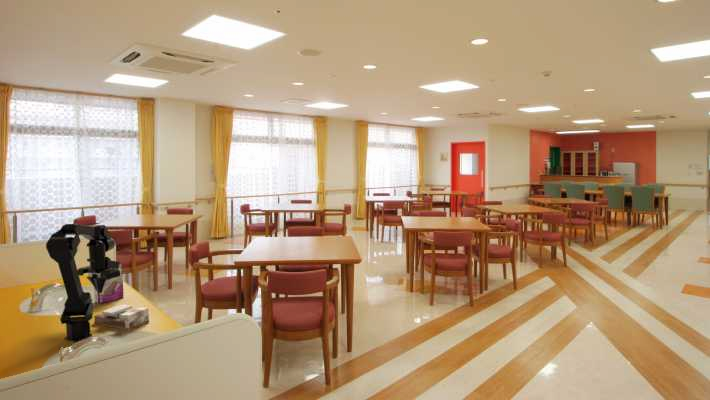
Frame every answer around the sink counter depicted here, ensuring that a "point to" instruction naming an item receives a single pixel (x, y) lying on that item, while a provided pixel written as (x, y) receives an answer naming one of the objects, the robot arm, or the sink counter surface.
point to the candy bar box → (111, 289)
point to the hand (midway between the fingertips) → (100, 292)
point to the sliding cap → (115, 310)
